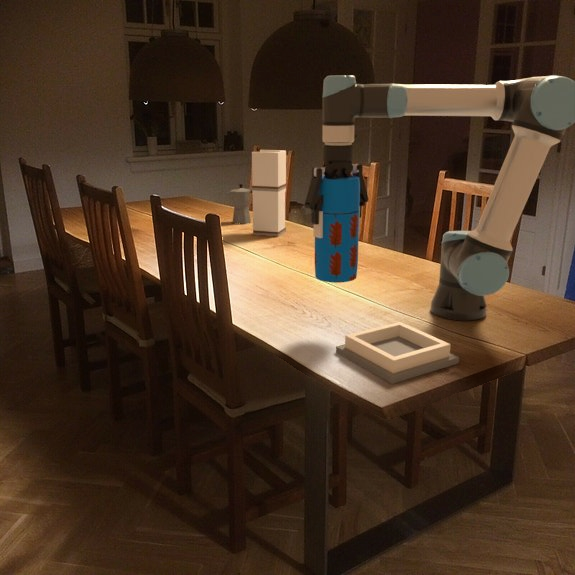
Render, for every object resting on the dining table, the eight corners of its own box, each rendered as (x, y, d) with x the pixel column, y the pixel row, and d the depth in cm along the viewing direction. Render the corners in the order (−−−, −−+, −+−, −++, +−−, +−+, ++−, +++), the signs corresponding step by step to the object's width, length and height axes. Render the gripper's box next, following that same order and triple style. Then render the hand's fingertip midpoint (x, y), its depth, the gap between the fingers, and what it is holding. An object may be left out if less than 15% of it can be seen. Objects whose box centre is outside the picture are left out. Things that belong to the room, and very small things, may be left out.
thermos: (365, 275, 160) (368, 177, 153) (340, 285, 153) (342, 181, 145) (332, 268, 167) (333, 173, 160) (305, 277, 160) (306, 177, 152)
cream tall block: (285, 231, 277) (286, 150, 267) (278, 236, 267) (278, 152, 257) (261, 230, 280) (260, 149, 270) (253, 235, 271) (251, 152, 260)
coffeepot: (232, 225, 290) (231, 186, 284) (224, 221, 298) (223, 183, 292) (262, 222, 296) (262, 184, 291) (254, 219, 304) (254, 181, 299)
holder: (399, 335, 160) (400, 319, 159) (458, 363, 144) (460, 344, 143) (335, 352, 150) (336, 334, 149) (392, 384, 134) (393, 364, 133)
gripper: (364, 140, 159) (362, 225, 166) (288, 145, 147) (289, 237, 153) (385, 142, 153) (382, 230, 160) (307, 147, 141) (307, 243, 147)
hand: (336, 234), depth 157 cm, fingers closed on thermos, 11 cm apart
